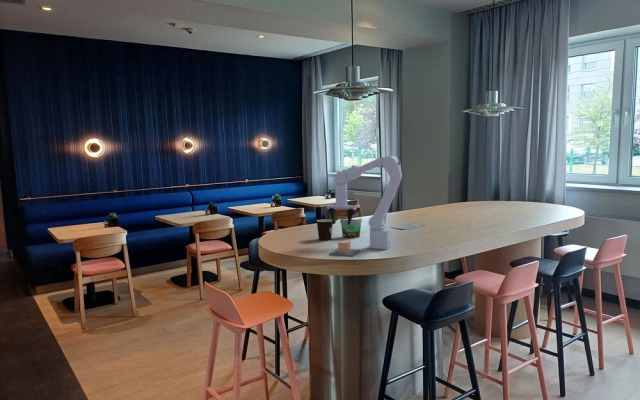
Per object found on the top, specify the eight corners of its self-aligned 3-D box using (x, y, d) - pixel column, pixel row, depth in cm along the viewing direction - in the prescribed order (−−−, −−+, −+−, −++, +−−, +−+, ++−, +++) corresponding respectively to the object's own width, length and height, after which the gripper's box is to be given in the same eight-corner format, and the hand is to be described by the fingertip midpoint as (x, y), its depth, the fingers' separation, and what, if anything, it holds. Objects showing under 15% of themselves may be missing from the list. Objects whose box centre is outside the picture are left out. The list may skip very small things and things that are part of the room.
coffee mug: (323, 241, 239) (323, 222, 238) (313, 239, 246) (313, 220, 245) (341, 239, 246) (341, 220, 245) (331, 236, 253) (330, 218, 252)
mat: (359, 251, 215) (359, 249, 215) (352, 256, 205) (352, 254, 205) (336, 249, 219) (336, 248, 219) (328, 254, 209) (328, 253, 209)
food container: (342, 239, 246) (342, 220, 245) (339, 237, 252) (339, 218, 251) (365, 237, 248) (365, 219, 247) (361, 235, 254) (361, 217, 253)
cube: (350, 250, 213) (350, 241, 213) (347, 252, 209) (347, 243, 209) (341, 250, 215) (341, 240, 214) (338, 252, 211) (338, 242, 210)
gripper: (324, 196, 227) (324, 224, 228) (353, 197, 222) (353, 226, 223) (329, 195, 233) (329, 222, 235) (357, 196, 228) (357, 223, 230)
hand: (341, 224), depth 229 cm, fingers open, 7 cm apart
